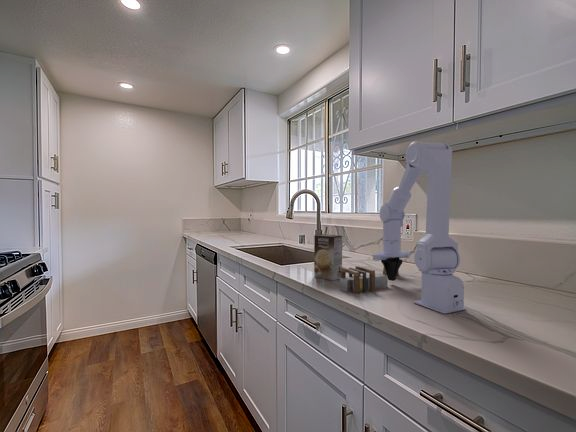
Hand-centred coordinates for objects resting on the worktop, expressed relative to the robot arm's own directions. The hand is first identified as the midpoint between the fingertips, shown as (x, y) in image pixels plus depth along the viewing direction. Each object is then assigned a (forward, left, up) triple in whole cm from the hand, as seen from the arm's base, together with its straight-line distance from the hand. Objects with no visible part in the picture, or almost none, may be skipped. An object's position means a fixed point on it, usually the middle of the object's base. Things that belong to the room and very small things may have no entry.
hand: (391, 280), depth 99 cm
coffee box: (+18, +14, -2) cm, 23 cm away
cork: (+12, -11, -2) cm, 16 cm away
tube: (0, +12, -2) cm, 12 cm away
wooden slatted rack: (0, +14, -1) cm, 14 cm away
